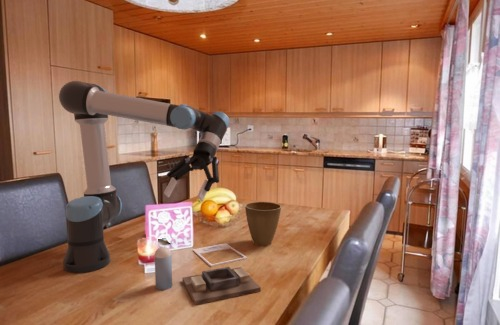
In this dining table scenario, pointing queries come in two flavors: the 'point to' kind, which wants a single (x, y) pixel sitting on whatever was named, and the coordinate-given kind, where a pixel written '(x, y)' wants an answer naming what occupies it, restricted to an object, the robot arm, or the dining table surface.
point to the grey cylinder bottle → (163, 268)
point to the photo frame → (217, 248)
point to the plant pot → (262, 221)
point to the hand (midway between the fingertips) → (182, 197)
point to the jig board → (219, 284)
